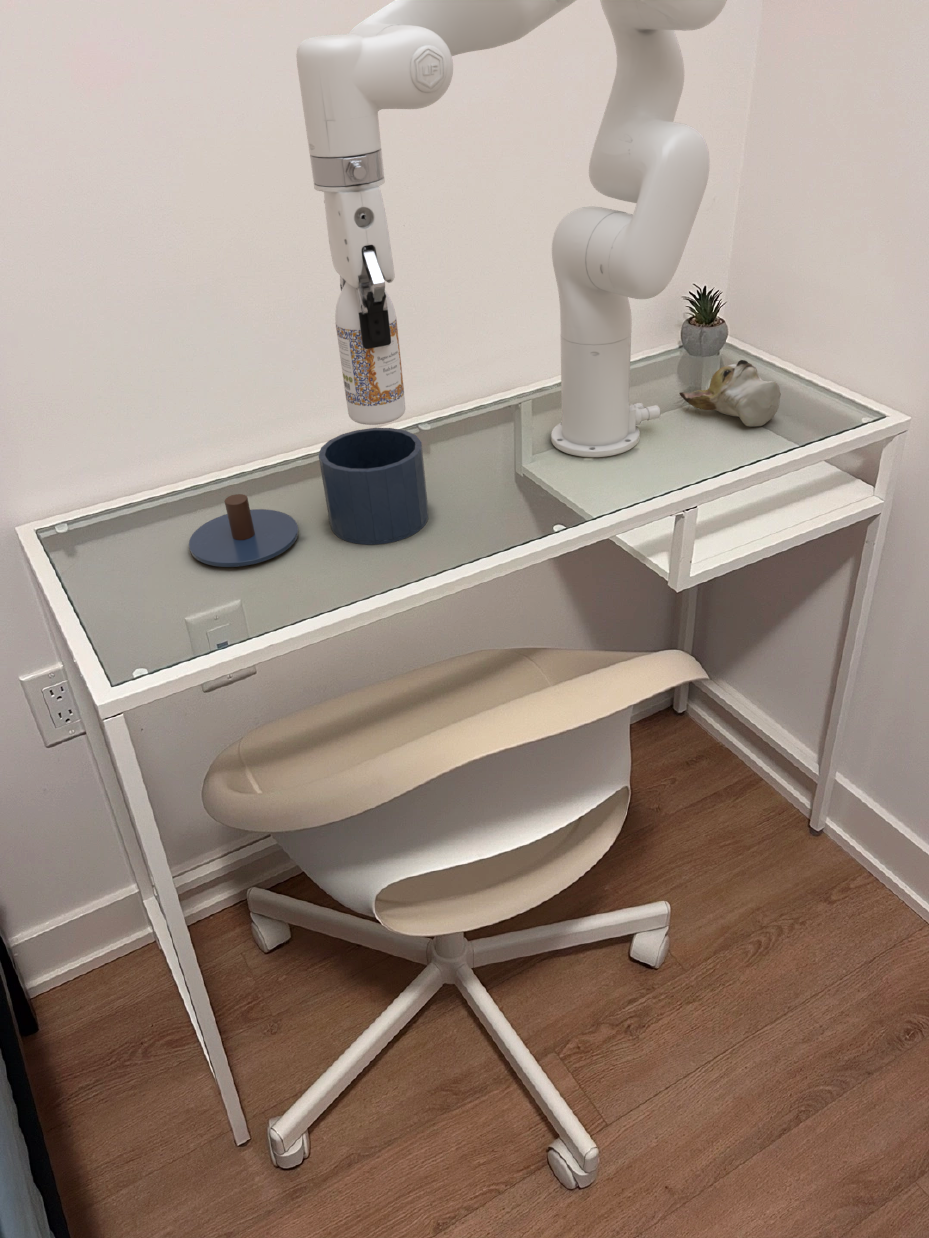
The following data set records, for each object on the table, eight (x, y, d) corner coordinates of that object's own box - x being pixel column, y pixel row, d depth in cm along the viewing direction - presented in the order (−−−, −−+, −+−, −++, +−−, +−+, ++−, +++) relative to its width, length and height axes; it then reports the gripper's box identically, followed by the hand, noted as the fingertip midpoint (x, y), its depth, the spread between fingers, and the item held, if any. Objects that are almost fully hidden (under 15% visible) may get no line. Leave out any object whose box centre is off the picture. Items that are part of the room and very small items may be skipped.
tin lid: (287, 508, 134) (279, 466, 130) (309, 555, 123) (301, 510, 119) (184, 531, 130) (173, 488, 127) (198, 581, 120) (186, 536, 116)
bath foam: (374, 431, 117) (352, 255, 106) (337, 417, 121) (312, 246, 110) (417, 412, 121) (401, 240, 110) (380, 399, 125) (360, 232, 114)
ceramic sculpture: (747, 379, 137) (676, 356, 148) (743, 440, 141) (675, 412, 153) (805, 362, 140) (732, 341, 152) (800, 422, 145) (730, 396, 157)
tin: (411, 489, 136) (403, 420, 130) (441, 531, 126) (435, 458, 120) (320, 509, 133) (309, 439, 127) (344, 554, 123) (332, 480, 117)
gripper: (406, 179, 100) (422, 353, 110) (360, 154, 114) (378, 311, 124) (333, 189, 98) (356, 365, 108) (295, 162, 112) (318, 321, 122)
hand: (367, 335), depth 116 cm, fingers closed on bath foam, 7 cm apart
